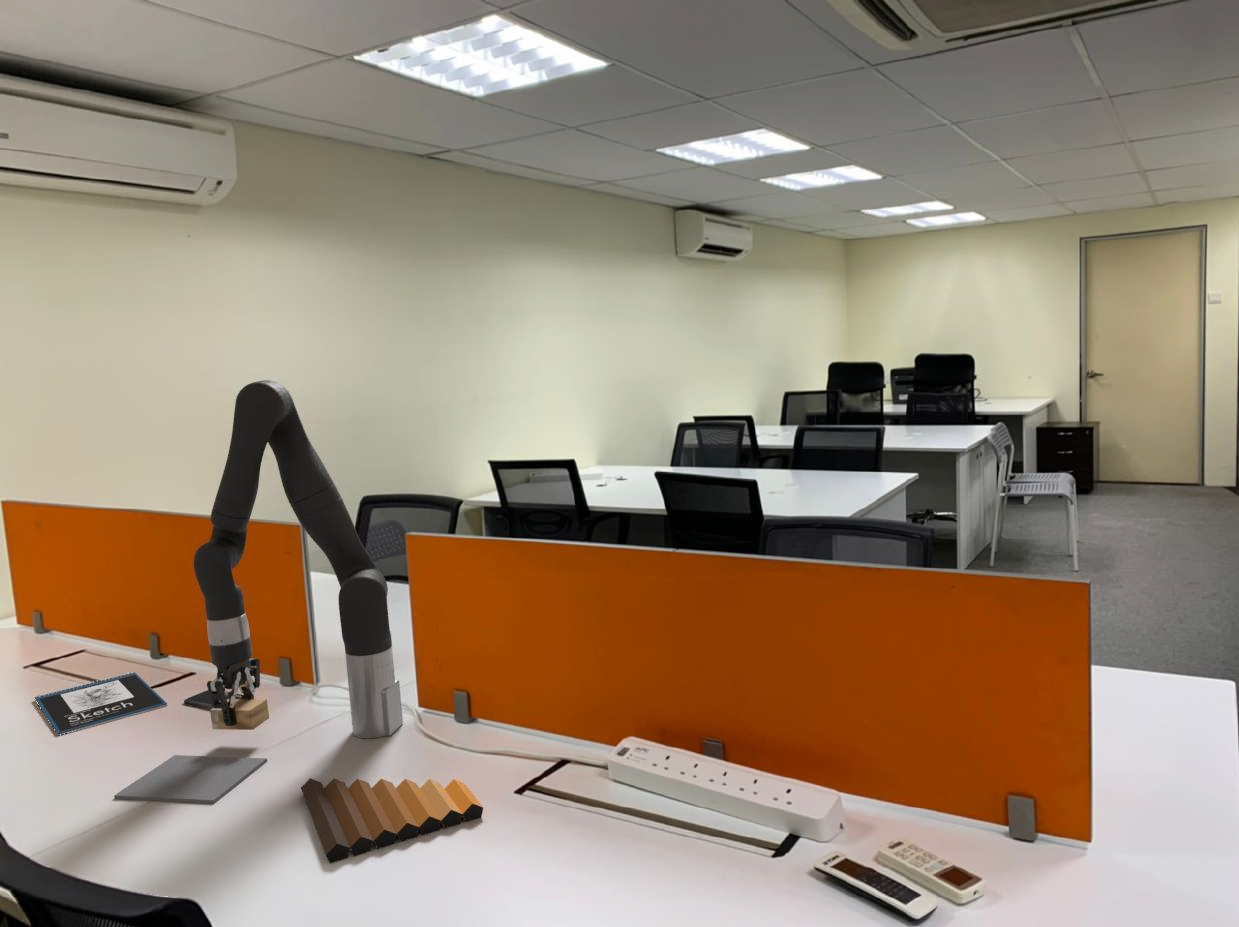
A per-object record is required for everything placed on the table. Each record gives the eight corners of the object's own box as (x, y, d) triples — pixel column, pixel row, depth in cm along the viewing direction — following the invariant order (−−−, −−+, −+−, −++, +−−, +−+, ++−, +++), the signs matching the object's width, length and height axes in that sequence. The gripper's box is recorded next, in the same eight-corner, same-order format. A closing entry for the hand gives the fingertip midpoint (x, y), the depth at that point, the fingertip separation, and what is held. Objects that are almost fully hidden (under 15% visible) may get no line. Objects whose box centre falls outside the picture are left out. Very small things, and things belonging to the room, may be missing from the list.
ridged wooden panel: (301, 798, 155) (327, 868, 133) (299, 780, 155) (324, 847, 133) (439, 761, 167) (484, 819, 145) (438, 744, 166) (482, 800, 144)
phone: (211, 688, 209) (254, 697, 202) (211, 693, 210) (254, 701, 202) (181, 700, 203) (224, 709, 195) (181, 705, 203) (225, 714, 195)
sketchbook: (58, 739, 188) (57, 730, 188) (34, 702, 210) (33, 694, 210) (167, 708, 202) (166, 699, 202) (134, 676, 224) (133, 668, 224)
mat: (267, 761, 170) (266, 758, 170) (214, 803, 154) (213, 800, 154) (175, 757, 174) (174, 754, 174) (114, 798, 158) (114, 795, 158)
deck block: (269, 718, 180) (266, 699, 179) (253, 729, 174) (250, 710, 174) (229, 717, 181) (227, 698, 181) (212, 729, 176) (210, 710, 176)
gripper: (223, 649, 168) (235, 734, 170) (267, 625, 182) (277, 704, 184) (188, 650, 169) (200, 734, 172) (234, 626, 183) (245, 704, 185)
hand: (240, 718), depth 178 cm, fingers closed on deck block, 5 cm apart
